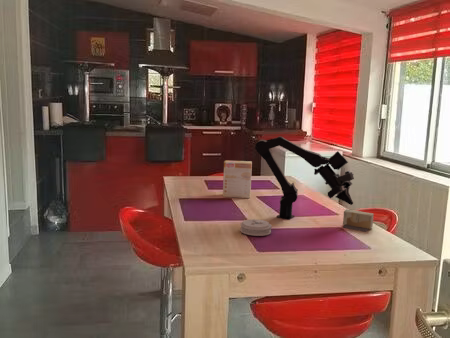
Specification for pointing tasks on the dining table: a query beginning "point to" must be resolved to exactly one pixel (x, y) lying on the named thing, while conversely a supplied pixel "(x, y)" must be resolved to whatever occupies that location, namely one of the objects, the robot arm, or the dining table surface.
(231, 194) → the coffeecake box
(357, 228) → the pad
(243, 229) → the lid
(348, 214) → the skincare box
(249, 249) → the dining table surface
